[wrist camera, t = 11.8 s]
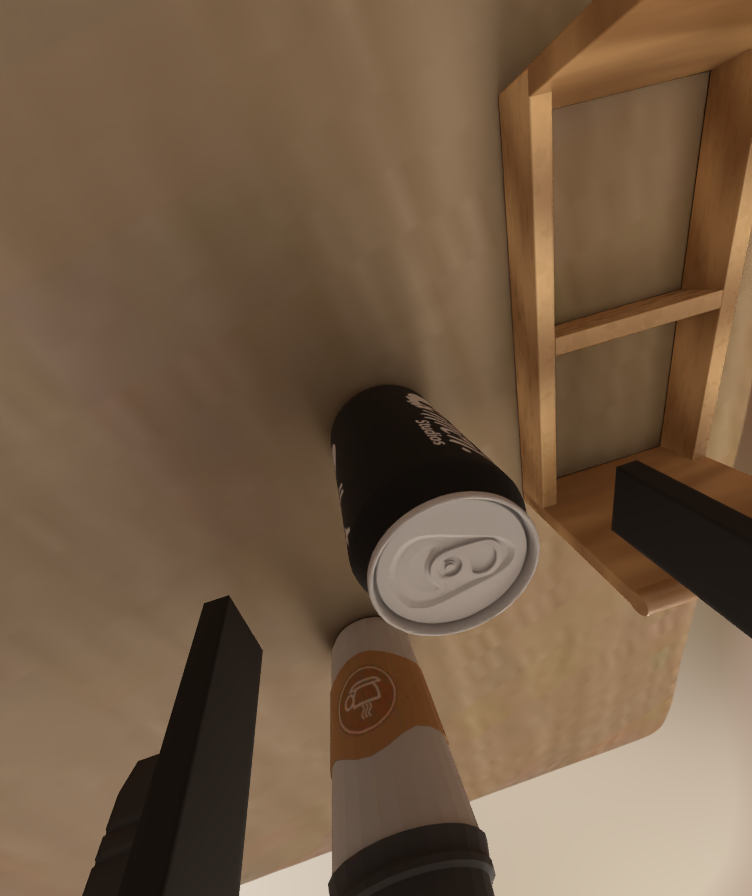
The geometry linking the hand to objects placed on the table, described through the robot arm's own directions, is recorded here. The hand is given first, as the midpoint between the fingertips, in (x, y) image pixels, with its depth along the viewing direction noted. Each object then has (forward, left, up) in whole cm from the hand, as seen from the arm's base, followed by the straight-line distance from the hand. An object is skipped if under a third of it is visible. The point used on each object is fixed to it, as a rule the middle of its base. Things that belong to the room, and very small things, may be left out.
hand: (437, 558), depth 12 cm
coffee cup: (+11, -15, -12) cm, 22 cm away
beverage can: (0, 0, -12) cm, 12 cm away
